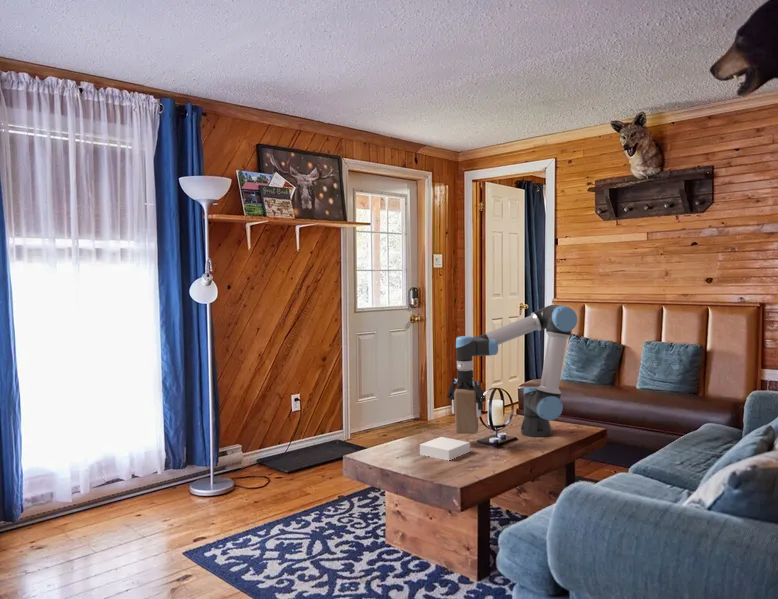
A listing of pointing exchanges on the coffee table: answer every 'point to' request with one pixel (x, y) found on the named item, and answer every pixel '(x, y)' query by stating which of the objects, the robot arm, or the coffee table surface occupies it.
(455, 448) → the base block
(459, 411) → the block
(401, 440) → the coffee table surface
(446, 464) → the coffee table surface
